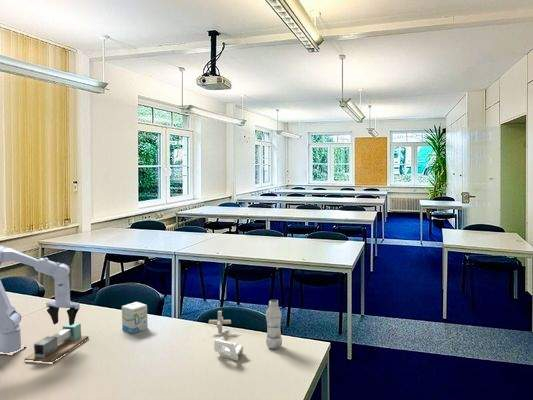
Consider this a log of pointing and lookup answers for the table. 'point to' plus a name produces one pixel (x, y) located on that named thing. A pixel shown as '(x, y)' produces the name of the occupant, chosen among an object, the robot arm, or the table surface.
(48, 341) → the grey sleeve
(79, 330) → the teal socket block
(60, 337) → the grey rectangular bar
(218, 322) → the pipe connector
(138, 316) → the ink box
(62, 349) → the walnut board
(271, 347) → the plastic bottle
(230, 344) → the mounting bracket
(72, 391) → the table surface
